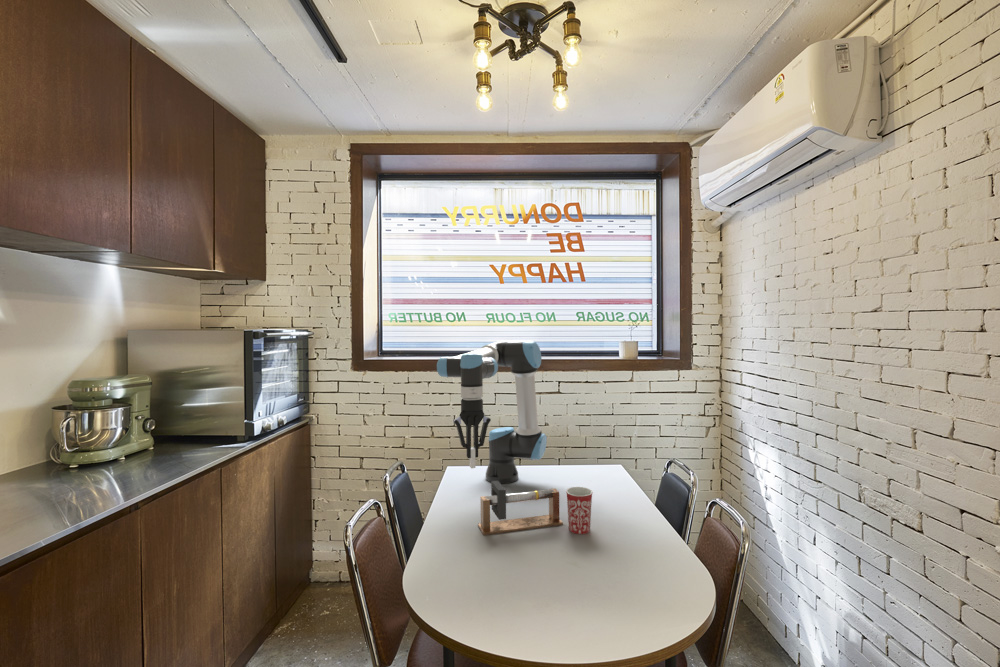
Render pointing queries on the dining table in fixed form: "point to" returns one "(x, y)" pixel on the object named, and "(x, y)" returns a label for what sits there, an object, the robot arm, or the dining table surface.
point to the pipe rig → (520, 523)
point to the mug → (579, 509)
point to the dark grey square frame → (499, 499)
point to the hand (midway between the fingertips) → (472, 467)
